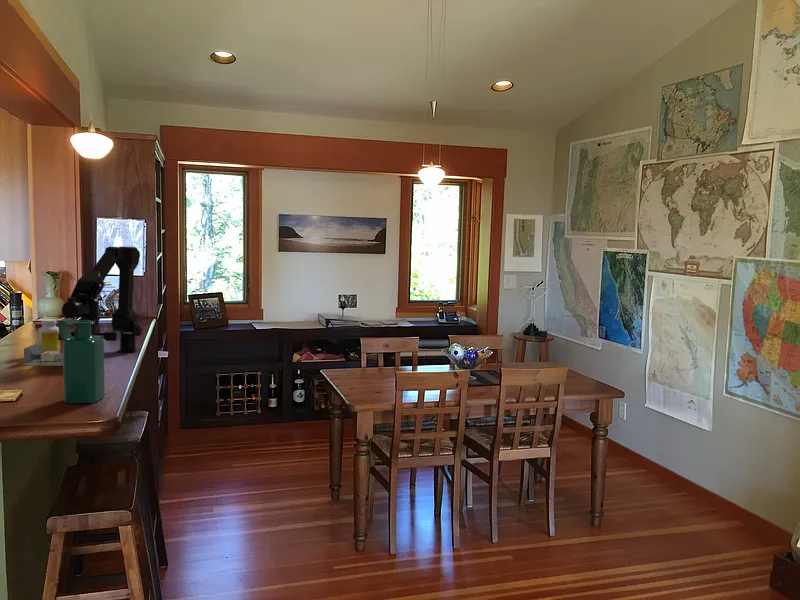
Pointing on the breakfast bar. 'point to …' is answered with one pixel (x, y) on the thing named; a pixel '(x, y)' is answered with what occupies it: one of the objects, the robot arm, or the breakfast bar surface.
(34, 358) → the track
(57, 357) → the thick grey end plate
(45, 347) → the supplement bottle
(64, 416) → the breakfast bar surface
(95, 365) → the pitcher
